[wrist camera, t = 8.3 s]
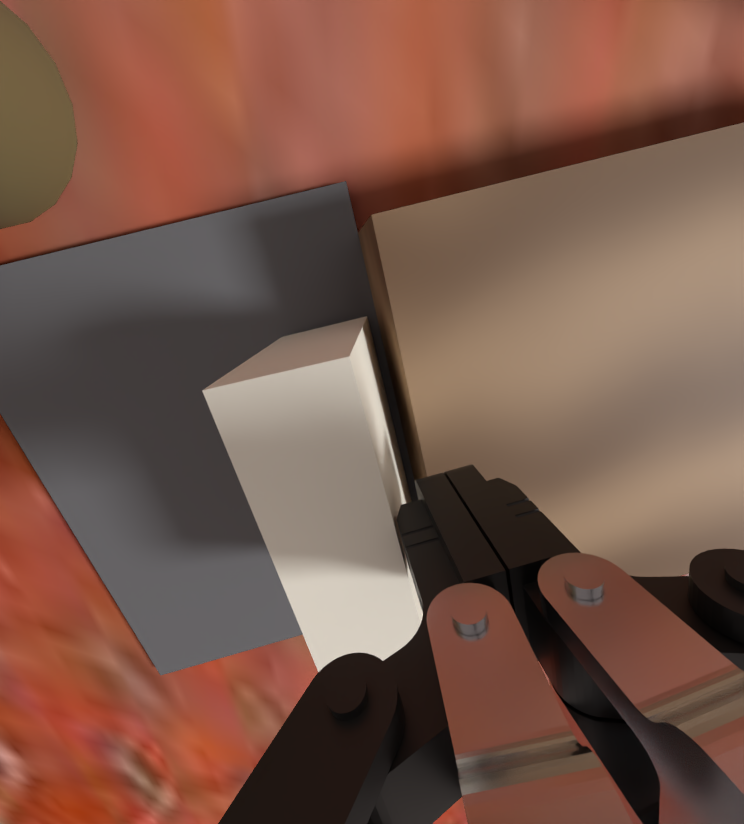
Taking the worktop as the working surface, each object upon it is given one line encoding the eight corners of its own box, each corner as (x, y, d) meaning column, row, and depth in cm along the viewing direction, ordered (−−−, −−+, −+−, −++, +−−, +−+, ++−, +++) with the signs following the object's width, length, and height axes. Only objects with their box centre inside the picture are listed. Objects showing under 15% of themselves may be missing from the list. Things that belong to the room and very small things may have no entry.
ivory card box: (367, 316, 13) (281, 336, 13) (348, 356, 7) (202, 390, 8) (419, 534, 16) (349, 545, 16) (436, 681, 10) (327, 694, 11)
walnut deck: (356, 234, 13) (371, 214, 9) (827, 117, 13) (1023, 53, 10) (431, 563, 18) (462, 639, 14) (777, 464, 18) (896, 512, 14)
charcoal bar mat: (-67, 284, 12) (-79, 285, 11) (345, 184, 12) (346, 181, 12) (164, 666, 18) (160, 675, 17) (437, 588, 18) (440, 594, 18)
